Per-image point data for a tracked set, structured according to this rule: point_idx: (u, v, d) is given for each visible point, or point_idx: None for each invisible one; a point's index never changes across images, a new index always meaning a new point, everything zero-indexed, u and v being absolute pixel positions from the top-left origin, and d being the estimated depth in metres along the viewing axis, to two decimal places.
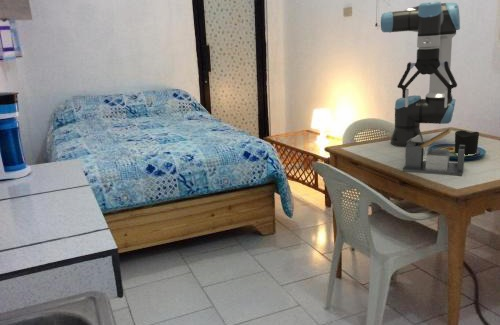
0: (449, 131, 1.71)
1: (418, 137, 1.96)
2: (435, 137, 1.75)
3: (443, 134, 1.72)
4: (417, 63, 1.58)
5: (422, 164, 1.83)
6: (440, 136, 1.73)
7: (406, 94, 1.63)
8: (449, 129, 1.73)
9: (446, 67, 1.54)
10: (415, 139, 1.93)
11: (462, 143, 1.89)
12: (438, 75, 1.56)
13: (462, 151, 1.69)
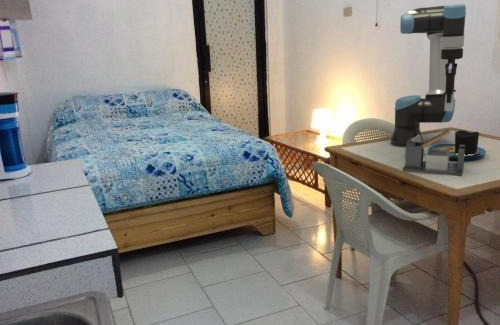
0: (449, 131, 1.71)
1: (418, 137, 1.96)
2: (435, 137, 1.75)
3: (443, 134, 1.72)
4: None
5: (422, 164, 1.83)
6: (440, 136, 1.73)
7: None
8: (449, 129, 1.73)
9: (446, 72, 1.62)
10: (415, 139, 1.93)
11: (462, 143, 1.89)
12: None
13: (462, 151, 1.69)
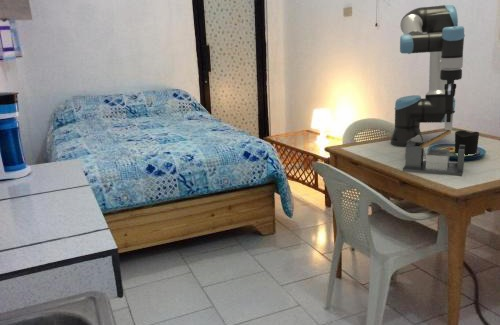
0: (449, 132, 1.71)
1: (418, 137, 1.96)
2: (435, 137, 1.75)
3: (443, 135, 1.72)
4: None
5: (422, 164, 1.83)
6: (440, 136, 1.73)
7: (445, 117, 1.72)
8: (449, 130, 1.73)
9: (445, 94, 1.65)
10: (415, 139, 1.93)
11: (462, 143, 1.89)
12: None
13: (462, 151, 1.69)
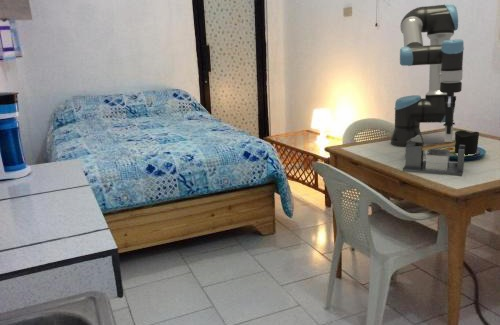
0: (454, 143, 1.71)
1: (418, 137, 1.96)
2: (439, 144, 1.76)
3: (448, 144, 1.73)
4: None
5: (422, 164, 1.83)
6: (444, 145, 1.73)
7: (445, 129, 1.73)
8: (455, 141, 1.73)
9: (445, 106, 1.66)
10: (415, 139, 1.93)
11: (462, 143, 1.89)
12: (446, 109, 1.70)
13: (462, 151, 1.69)
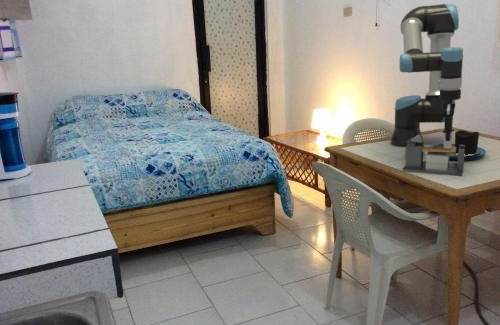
0: (455, 150, 1.72)
1: (418, 137, 1.96)
2: (439, 148, 1.76)
3: (448, 150, 1.73)
4: None
5: (422, 164, 1.83)
6: (445, 150, 1.74)
7: None
8: None
9: (444, 114, 1.67)
10: (415, 139, 1.93)
11: (462, 143, 1.89)
12: (445, 116, 1.71)
13: (462, 151, 1.69)
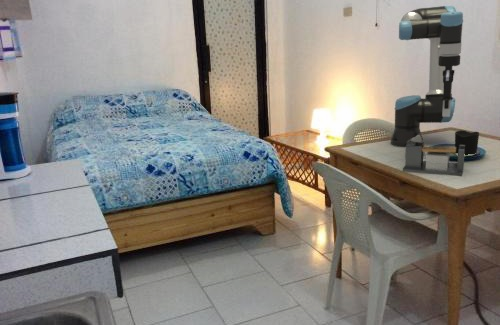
0: (455, 150, 1.72)
1: (418, 137, 1.96)
2: (439, 148, 1.76)
3: (448, 150, 1.73)
4: None
5: (422, 164, 1.83)
6: (445, 150, 1.74)
7: (443, 104, 1.72)
8: None
9: (443, 80, 1.64)
10: (415, 139, 1.93)
11: (462, 143, 1.89)
12: (444, 83, 1.68)
13: (462, 151, 1.69)
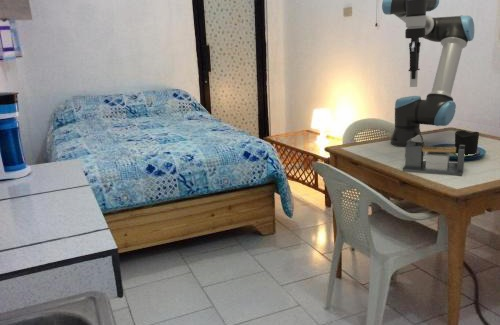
0: (455, 150, 1.72)
1: (418, 137, 1.96)
2: (439, 148, 1.76)
3: (448, 150, 1.73)
4: None
5: (422, 164, 1.83)
6: (445, 150, 1.74)
7: None
8: None
9: None
10: (415, 139, 1.93)
11: (462, 143, 1.89)
12: None
13: (462, 151, 1.69)
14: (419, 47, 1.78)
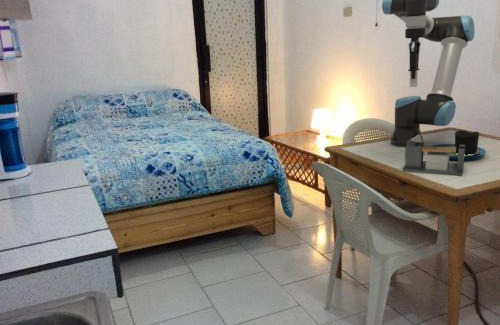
0: (455, 150, 1.72)
1: (418, 137, 1.96)
2: (439, 148, 1.76)
3: (448, 150, 1.73)
4: None
5: (422, 164, 1.83)
6: (445, 150, 1.74)
7: None
8: None
9: None
10: (415, 139, 1.93)
11: (462, 143, 1.89)
12: None
13: (462, 151, 1.69)
14: (419, 47, 1.78)
